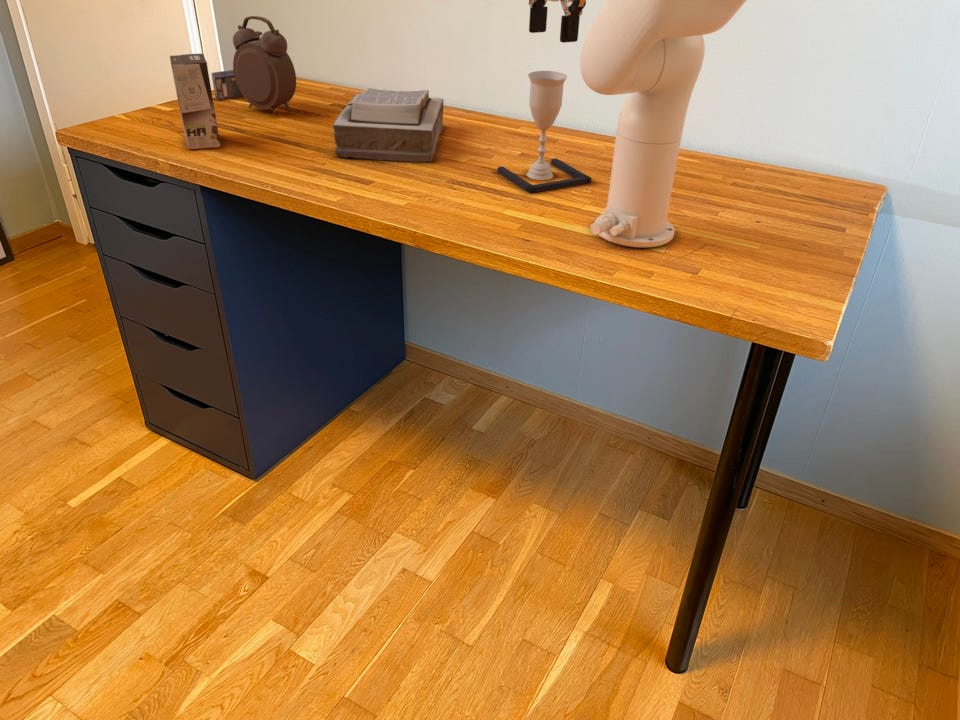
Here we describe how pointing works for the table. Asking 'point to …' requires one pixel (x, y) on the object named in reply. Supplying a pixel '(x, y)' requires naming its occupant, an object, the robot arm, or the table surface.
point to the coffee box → (195, 100)
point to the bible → (389, 126)
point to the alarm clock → (263, 66)
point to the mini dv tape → (225, 85)
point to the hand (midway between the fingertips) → (552, 36)
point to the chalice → (544, 113)
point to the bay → (578, 180)
